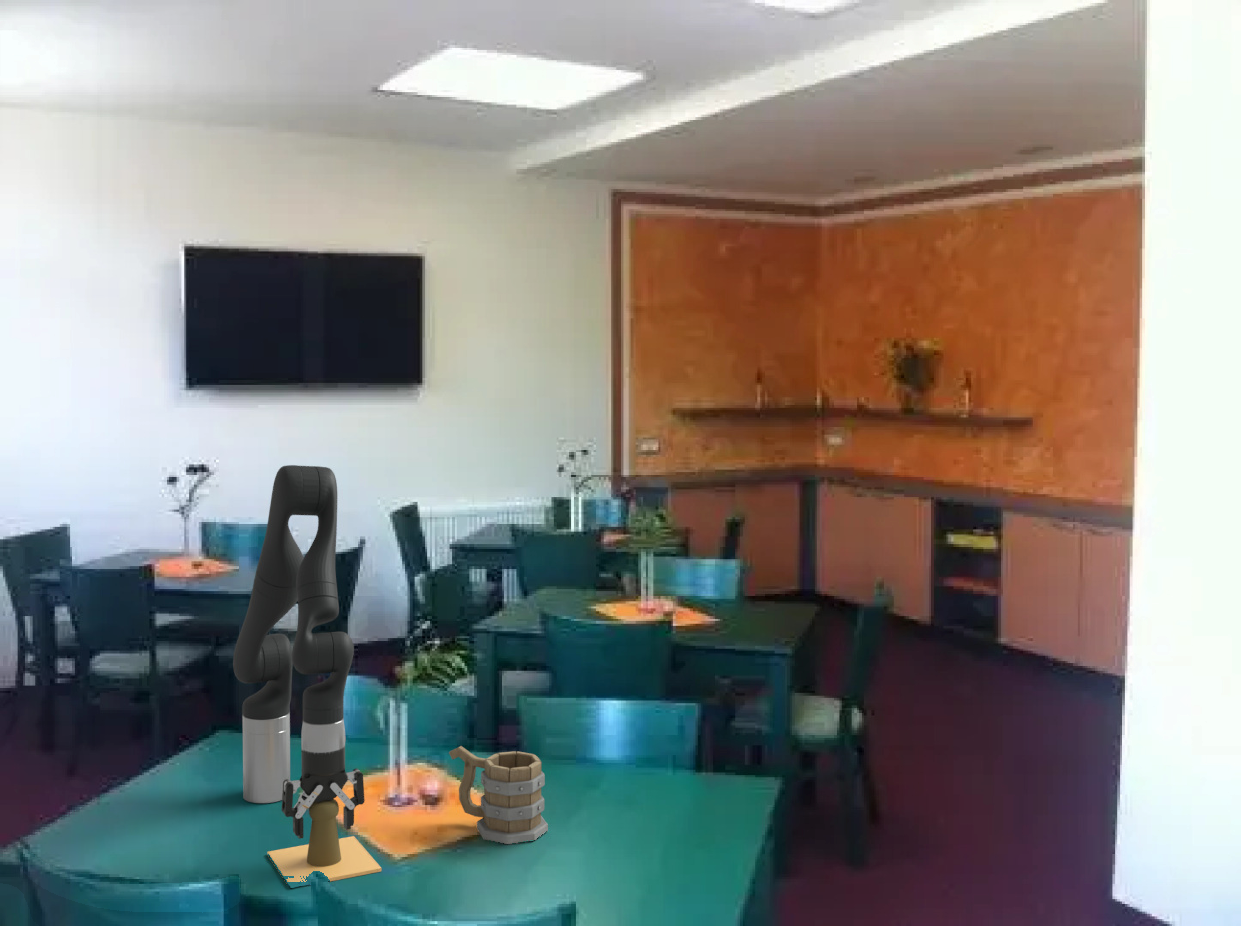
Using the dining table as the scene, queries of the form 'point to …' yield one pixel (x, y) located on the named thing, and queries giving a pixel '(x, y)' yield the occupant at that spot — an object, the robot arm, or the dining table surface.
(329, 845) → the cork
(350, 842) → the placemat
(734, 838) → the dining table surface
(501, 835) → the tankard
